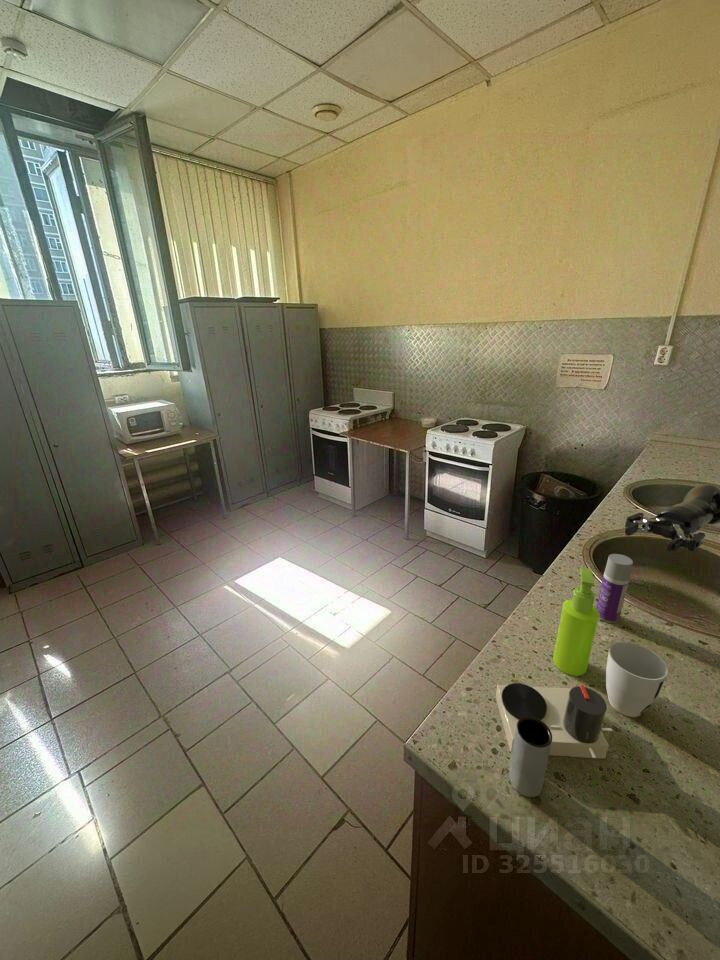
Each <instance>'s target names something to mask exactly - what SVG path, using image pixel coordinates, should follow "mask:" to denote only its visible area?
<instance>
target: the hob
mask: <svg viewBox="0 0 720 960" xmlns="http://www.w3.org/2000/svg"><path fill="white" fill-rule="evenodd" d="M508 685H509V684H497V685H496V692H495V700H496V703H497V707H498V711H499V715H500V719H501V722H502V726H503V729H504V733H505V736H506V740H507V744H508V748H509V751H510V754H512V750H513V744H514V738H515V731H516V725H517V722H518V720H519V719H517V718H515V717H514V716H512V715H511V714H510V713H509V712H508V711H507V710H506V709H505V707H504V705H503V703H502V691H503V689H504V688H505V687H506V686H508ZM531 687H532V688H534V689H535V690H536V691H538V692H539V693H540V694H541V695H542V697H543V698H544V700H545V702H546V705H547V711H546V715H545V717H544V718H543V719H542V720H541V721H542V722H544V723H545V724H546V725H547V726H548V728H549V729H550V731H551V733H552V743H551V748H550V753H549V756H556V757H571V758H574V757H575V758H588V759H603V760H606V756H607V753H608V750H609V747H610V746H609V743H608V741H607V739H606V737H605V735H604V732H613V729H612V728H609V727H602V728H601V732H600V736H599V739H598V740H597V741H596V742H595V743H591V744H587V743H583V742H580V741H578V740H576V739H574V738H573V737H572V736H571V735H570V734H569V733H568V732H567V731H566V729H565V727H564V725H563V719H564V714H565V710H566V705H567V700H568V696H569V692H570V690H571V689H572V688H570V687H567V688H566V687H547V686H531ZM602 731H604V732H602Z"/></svg>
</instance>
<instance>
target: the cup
mask: <svg viewBox="0 0 720 960" xmlns="http://www.w3.org/2000/svg"><path fill="white" fill-rule="evenodd" d="M668 673H669V668H668V665H667V664H666V662H665V661H664V659H663V658H662V657H661V656H660V655H658V654H657V653H656V652H654V651H653V650H651V649H650V648H648V647H646V646H643V645H641V644H638V643H635V642H631V641H617V642H614V643H612V644H610V646H609V647H608V653H607V660H606V667H605V688H606V694H607V698H608V702H609V704H610V706H611V707H612V708H613V709H614V710H615V711H617V712H618V713H620V714H621V715H624V716H626V717H629V718H638V717H641V716H642V715H643V714H644V713H645V712H646V711H648V709H649V708H651V706H652V705H653V703H654V701H655V700H656V699H657V697H658V696H659V694H660V693H661V690H662V688H663V685H664V683H665V681H666V678H667V677H668Z"/></svg>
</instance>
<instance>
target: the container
mask: <svg viewBox="0 0 720 960" xmlns="http://www.w3.org/2000/svg"><path fill="white" fill-rule="evenodd" d="M633 565H634V560H633V559H631V557H629V556H627V555H625V554H621V553H611V554H608V557H607V561H606V565H605V569H604V572H603V576H602V580H601V585H600V589H599V593H598V598H597V603H596V606H595V607H596V609H597V610H598V611H599V618H598V620H601V621H603V622H604V623H607V624H608V623H609V624H617V623H618V622H619V621H620V618H621V615H622V611H623V606H624V603H625V599H626V596H627V592H628V587H629V584H630V579H631V578H630V577H631V573H632V570H633Z"/></svg>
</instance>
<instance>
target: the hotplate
mask: <svg viewBox="0 0 720 960" xmlns="http://www.w3.org/2000/svg"><path fill="white" fill-rule="evenodd" d="M507 685H508V686H506V687H505V688H504V689H503V691H502V703H503V705H504V707H505V709H506V710H507V711H508V712H509V713H510V714H511V715H512V716H514V717H515V718H517V719H521V718H522V717H526V716H530V717H535V718H537V719H539V720H542V719H543V718H544V717H545V715H546V711H547V705H546V702H545V700H544V698H543V697H542V695H541V694H540V693H539V692H538V691H536V690H535V689H534V688H532V687H533V686H530V685H528V684H525V683H519V682H518V683H517V682H514V683H510V684H507Z"/></svg>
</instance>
